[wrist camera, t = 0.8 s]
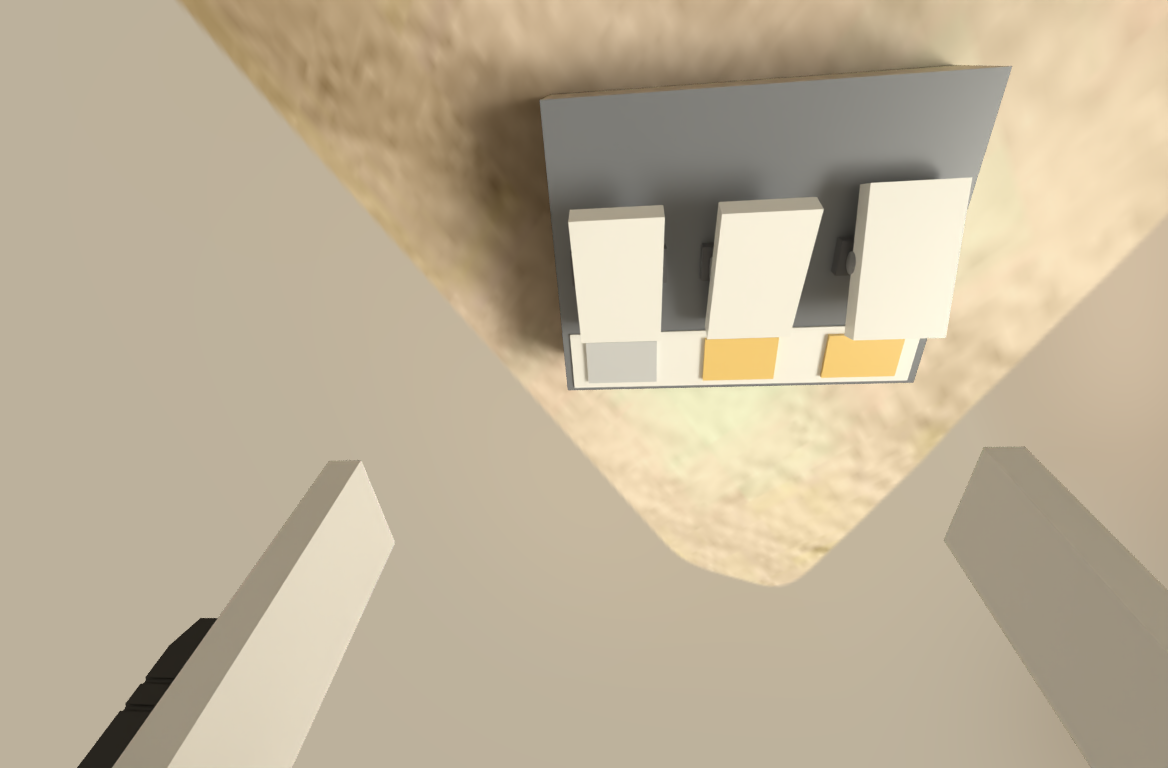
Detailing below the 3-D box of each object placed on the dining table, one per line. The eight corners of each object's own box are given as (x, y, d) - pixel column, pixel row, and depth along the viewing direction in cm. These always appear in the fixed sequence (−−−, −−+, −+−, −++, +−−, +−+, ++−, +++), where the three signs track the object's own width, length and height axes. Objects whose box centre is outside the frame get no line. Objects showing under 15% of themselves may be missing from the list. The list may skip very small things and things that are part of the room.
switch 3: (854, 184, 22) (870, 182, 21) (948, 180, 22) (972, 177, 20) (839, 332, 24) (853, 340, 23) (925, 329, 24) (945, 337, 22)
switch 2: (716, 195, 21) (722, 214, 20) (812, 189, 21) (823, 209, 20) (703, 318, 26) (707, 339, 25) (782, 315, 26) (789, 336, 24)
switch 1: (570, 202, 22) (568, 221, 21) (662, 197, 21) (664, 216, 20) (583, 322, 26) (581, 343, 25) (658, 319, 26) (660, 340, 25)
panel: (550, 94, 25) (537, 100, 21) (954, 65, 23) (1022, 66, 19) (573, 354, 32) (566, 396, 28) (880, 346, 30) (919, 388, 26)
